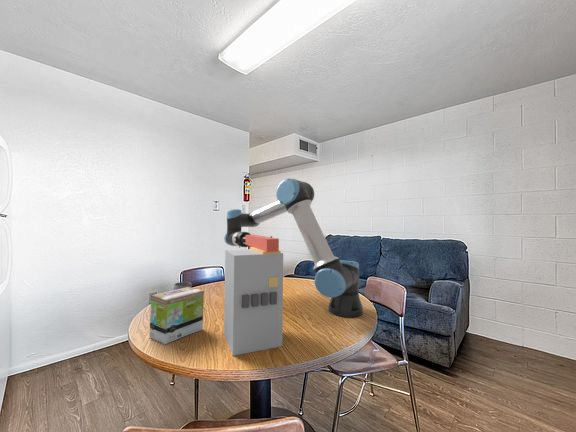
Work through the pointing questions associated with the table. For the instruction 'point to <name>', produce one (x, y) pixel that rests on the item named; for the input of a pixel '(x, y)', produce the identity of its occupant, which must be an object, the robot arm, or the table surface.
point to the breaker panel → (253, 301)
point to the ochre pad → (264, 251)
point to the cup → (182, 285)
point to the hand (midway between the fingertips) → (264, 241)
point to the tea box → (176, 314)
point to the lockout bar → (263, 243)
